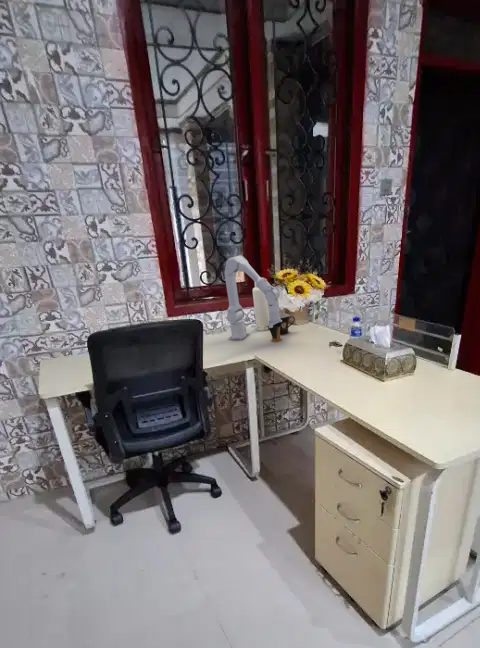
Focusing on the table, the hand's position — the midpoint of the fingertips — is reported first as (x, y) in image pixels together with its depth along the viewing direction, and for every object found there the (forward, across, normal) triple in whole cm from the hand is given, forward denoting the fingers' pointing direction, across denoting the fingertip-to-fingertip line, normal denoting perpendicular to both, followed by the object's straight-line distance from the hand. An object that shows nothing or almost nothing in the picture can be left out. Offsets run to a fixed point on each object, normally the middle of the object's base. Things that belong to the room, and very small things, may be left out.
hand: (276, 336), depth 227 cm
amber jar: (+2, 0, 0) cm, 2 cm away
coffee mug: (+2, +13, -1) cm, 13 cm away
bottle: (+2, +21, +15) cm, 26 cm away
